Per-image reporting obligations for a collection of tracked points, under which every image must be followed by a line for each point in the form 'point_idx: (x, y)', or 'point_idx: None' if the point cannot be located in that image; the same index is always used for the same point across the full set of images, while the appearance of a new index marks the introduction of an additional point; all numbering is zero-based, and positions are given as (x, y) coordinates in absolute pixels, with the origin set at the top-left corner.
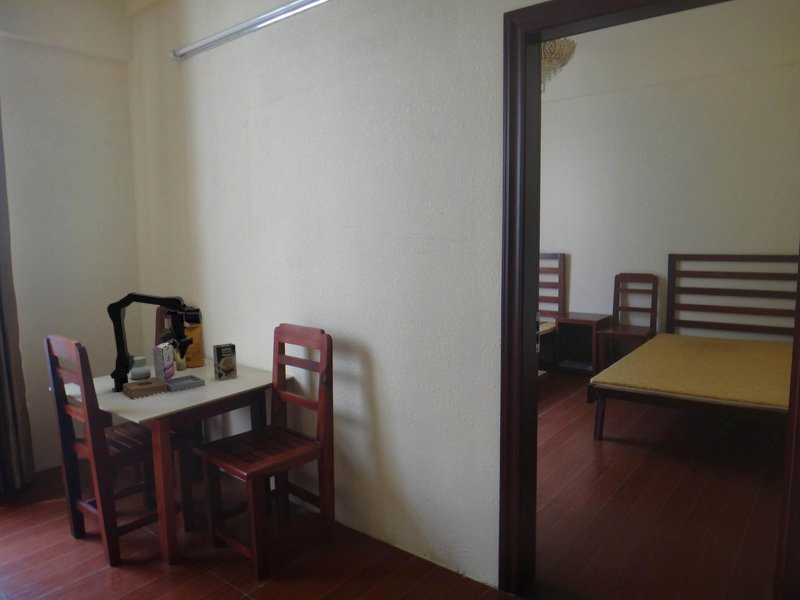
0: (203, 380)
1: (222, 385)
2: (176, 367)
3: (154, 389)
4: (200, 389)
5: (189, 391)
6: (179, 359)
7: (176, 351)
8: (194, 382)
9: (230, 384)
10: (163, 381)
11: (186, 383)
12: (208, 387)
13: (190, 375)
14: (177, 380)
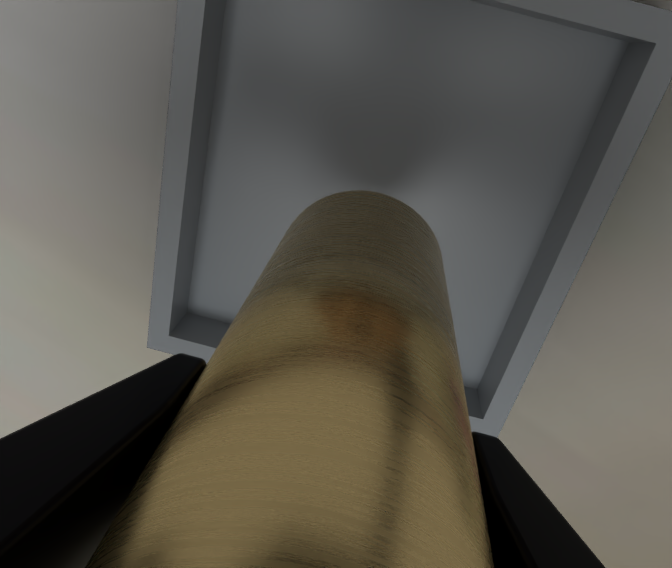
0: (149, 335)
1: (30, 379)
2: (379, 214)
3: None
4: (50, 192)
5: (62, 71)
6: (233, 327)
7: (204, 508)
8: (159, 237)
9: (10, 426)
10: (592, 20)
11: (165, 139)
12: (62, 280)
13: (486, 407)
14: (544, 249)
